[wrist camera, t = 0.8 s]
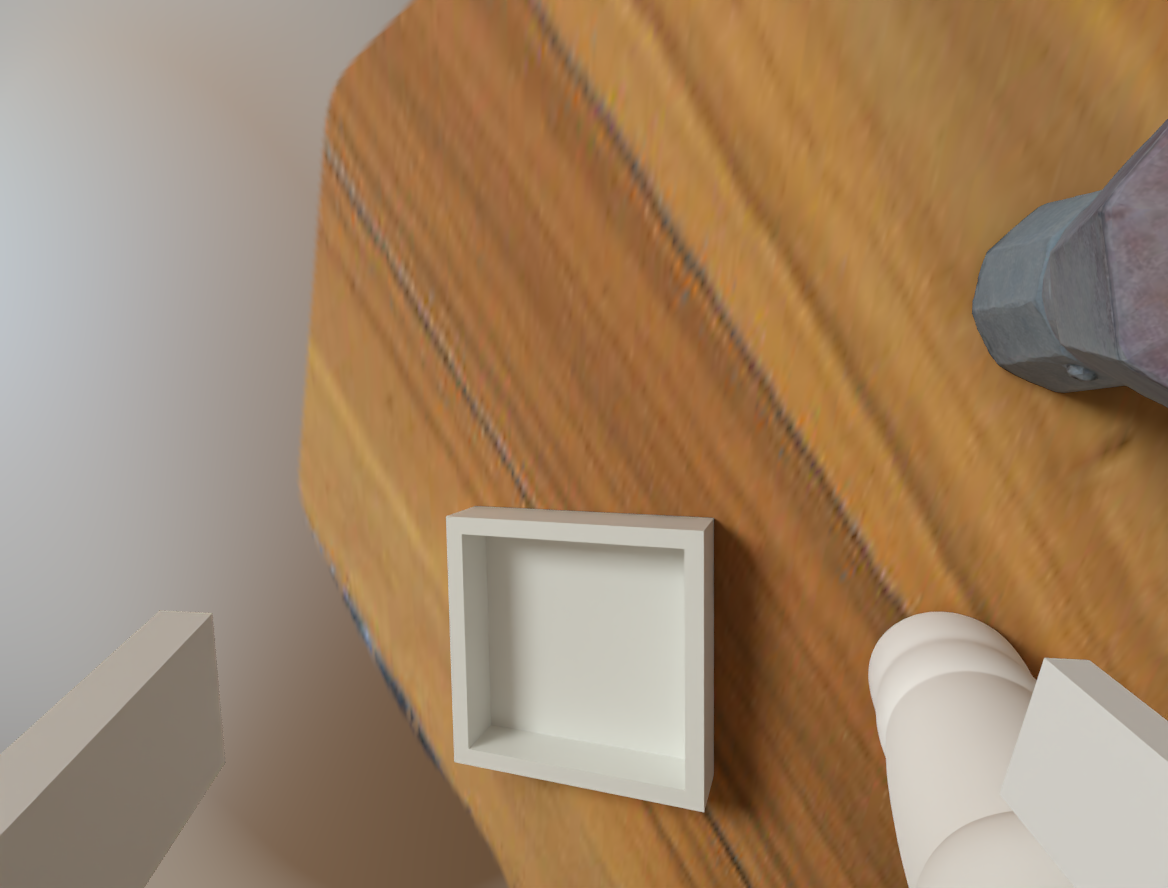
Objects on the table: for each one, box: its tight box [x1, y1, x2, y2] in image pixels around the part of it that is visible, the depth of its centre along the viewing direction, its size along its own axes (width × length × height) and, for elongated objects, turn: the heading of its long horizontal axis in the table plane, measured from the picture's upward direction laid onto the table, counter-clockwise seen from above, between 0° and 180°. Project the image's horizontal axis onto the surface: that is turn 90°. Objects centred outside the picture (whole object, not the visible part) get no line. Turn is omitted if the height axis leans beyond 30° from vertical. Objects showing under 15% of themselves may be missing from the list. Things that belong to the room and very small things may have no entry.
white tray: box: [446, 506, 714, 812], centre depth 38 cm, size 15×15×4 cm
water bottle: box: [868, 612, 1075, 888], centre depth 21 cm, size 7×7×25 cm
